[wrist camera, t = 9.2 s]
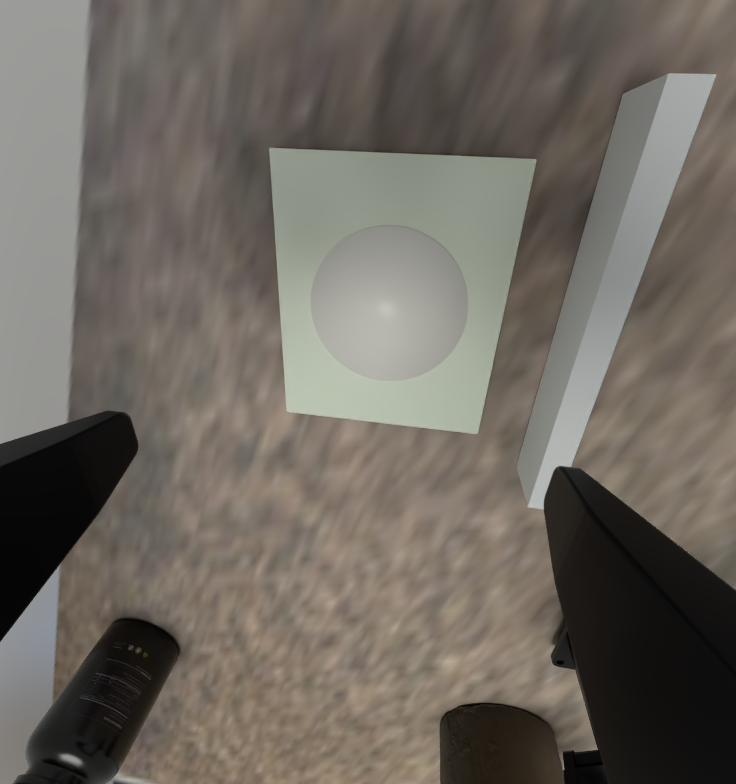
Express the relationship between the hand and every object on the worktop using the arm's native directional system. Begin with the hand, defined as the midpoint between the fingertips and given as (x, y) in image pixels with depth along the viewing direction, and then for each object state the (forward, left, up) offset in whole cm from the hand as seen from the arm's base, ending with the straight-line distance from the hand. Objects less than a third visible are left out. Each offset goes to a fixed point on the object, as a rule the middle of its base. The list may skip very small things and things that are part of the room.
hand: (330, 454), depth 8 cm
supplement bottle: (-33, +20, -11) cm, 40 cm away
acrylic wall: (0, -8, -11) cm, 14 cm away
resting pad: (0, 0, -11) cm, 11 cm away
